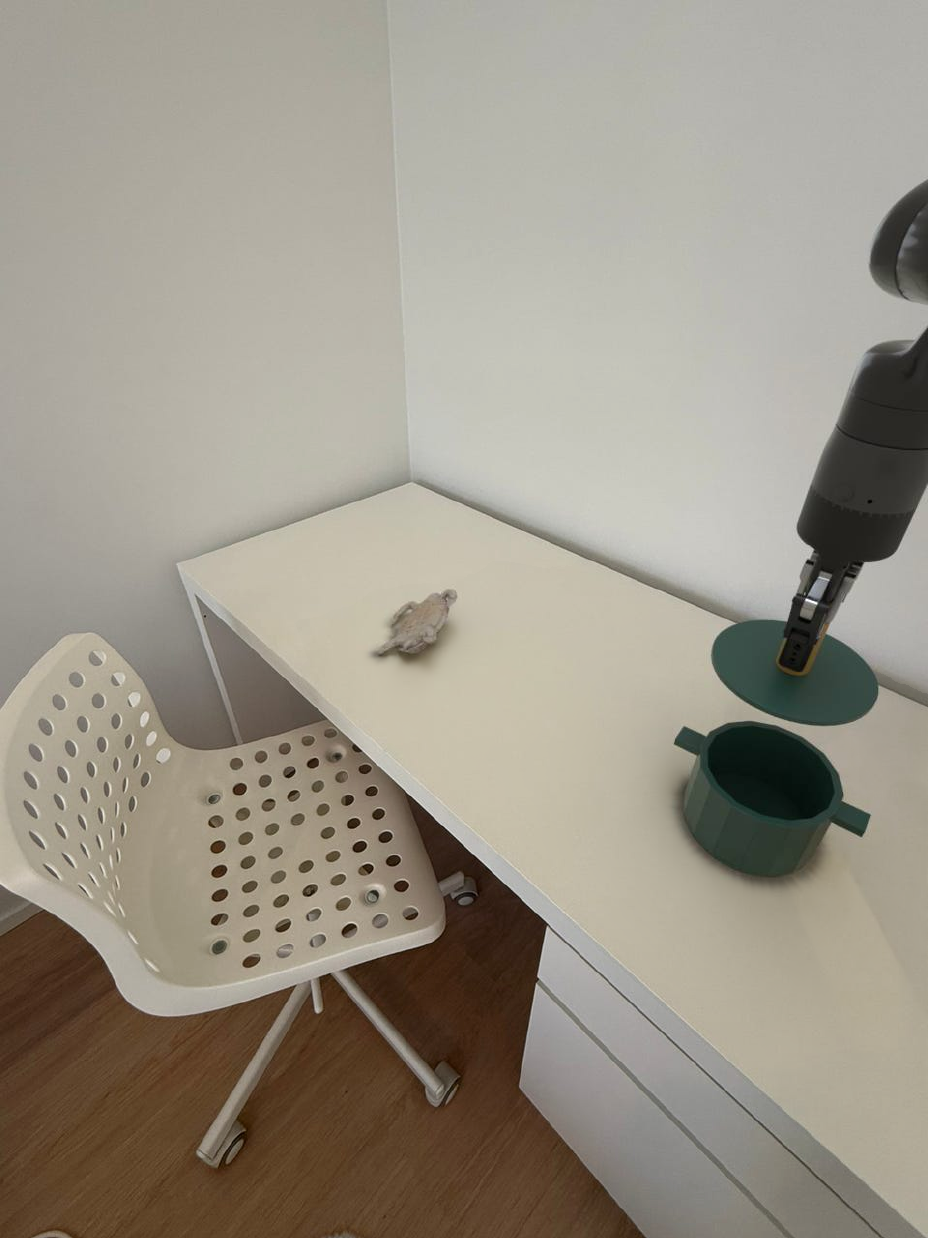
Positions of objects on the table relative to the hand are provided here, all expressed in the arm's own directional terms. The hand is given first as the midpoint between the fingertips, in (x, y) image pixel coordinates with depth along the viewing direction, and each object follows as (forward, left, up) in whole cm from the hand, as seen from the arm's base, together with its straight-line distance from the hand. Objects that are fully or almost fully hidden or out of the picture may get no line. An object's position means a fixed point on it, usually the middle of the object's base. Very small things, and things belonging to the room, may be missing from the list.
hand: (796, 656), depth 61 cm
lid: (0, 0, -2) cm, 2 cm away
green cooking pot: (+2, +2, -21) cm, 21 cm away
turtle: (0, -48, -21) cm, 53 cm away
